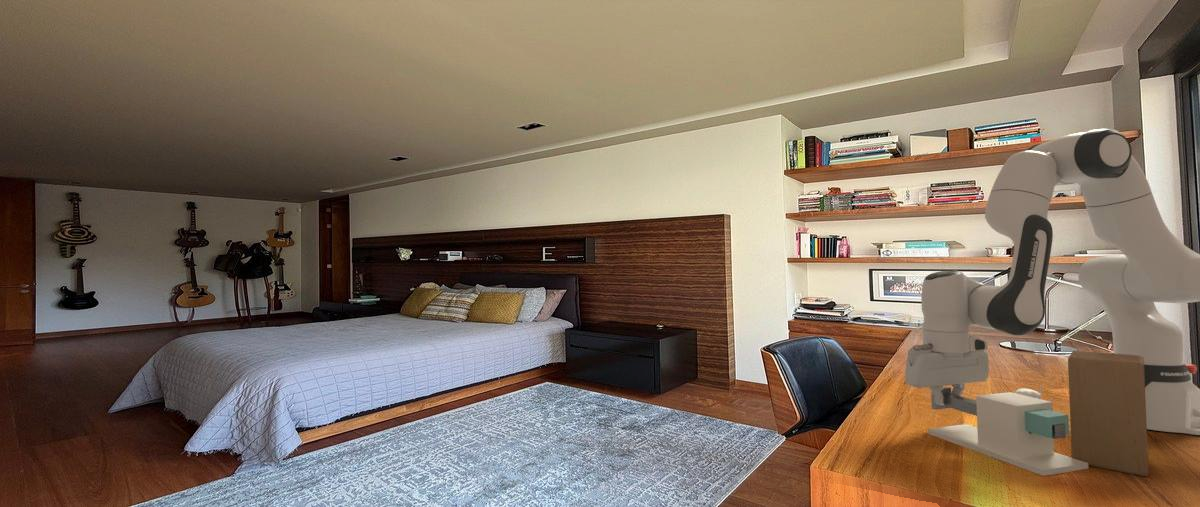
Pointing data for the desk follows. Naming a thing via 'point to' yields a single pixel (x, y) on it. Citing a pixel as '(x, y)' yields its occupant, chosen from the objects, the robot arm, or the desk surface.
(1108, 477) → the desk surface
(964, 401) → the shaft
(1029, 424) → the block
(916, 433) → the desk surface
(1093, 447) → the wooden block
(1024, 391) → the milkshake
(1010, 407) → the bearing block
